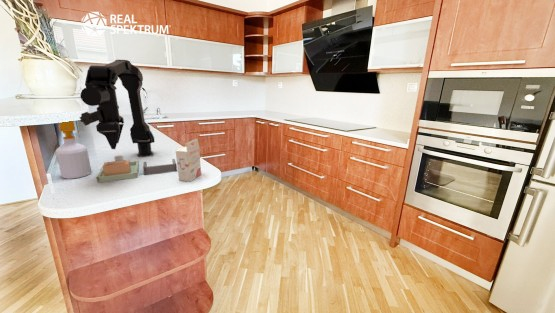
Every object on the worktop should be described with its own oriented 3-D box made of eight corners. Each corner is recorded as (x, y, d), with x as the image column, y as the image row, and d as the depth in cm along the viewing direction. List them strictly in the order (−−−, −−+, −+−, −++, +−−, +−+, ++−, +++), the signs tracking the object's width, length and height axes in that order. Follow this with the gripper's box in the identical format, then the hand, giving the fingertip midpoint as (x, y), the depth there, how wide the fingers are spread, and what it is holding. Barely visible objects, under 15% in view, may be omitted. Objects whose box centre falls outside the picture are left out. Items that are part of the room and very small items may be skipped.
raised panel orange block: (132, 167, 103) (130, 154, 101) (130, 176, 93) (128, 162, 91) (109, 169, 99) (107, 156, 98) (105, 179, 90) (102, 165, 88)
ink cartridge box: (190, 172, 99) (187, 137, 95) (201, 173, 98) (199, 138, 94) (177, 180, 91) (174, 142, 87) (190, 181, 90) (186, 143, 86)
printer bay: (144, 168, 102) (143, 161, 102) (175, 165, 108) (174, 158, 107) (144, 175, 96) (143, 167, 95) (177, 171, 101) (176, 164, 100)
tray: (104, 168, 101) (103, 164, 101) (139, 165, 107) (138, 160, 106) (97, 182, 87) (96, 177, 87) (137, 177, 93) (136, 172, 92)
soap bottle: (89, 169, 100) (77, 108, 93) (93, 175, 94) (80, 110, 87) (60, 174, 94) (45, 109, 87) (63, 181, 88) (46, 112, 81)
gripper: (85, 101, 91) (93, 142, 95) (71, 106, 75) (82, 155, 79) (120, 101, 96) (126, 140, 100) (114, 105, 80) (122, 151, 84)
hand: (115, 146), depth 91 cm, fingers open, 9 cm apart
